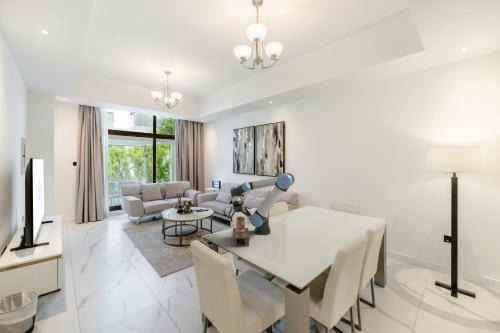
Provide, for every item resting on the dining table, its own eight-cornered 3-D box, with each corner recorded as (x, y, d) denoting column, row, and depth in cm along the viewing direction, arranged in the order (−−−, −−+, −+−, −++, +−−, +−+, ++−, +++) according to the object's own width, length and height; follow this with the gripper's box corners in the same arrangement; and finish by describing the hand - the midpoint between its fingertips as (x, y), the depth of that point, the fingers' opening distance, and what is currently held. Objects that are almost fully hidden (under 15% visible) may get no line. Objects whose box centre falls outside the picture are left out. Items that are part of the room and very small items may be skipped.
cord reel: (244, 230, 185) (244, 216, 185) (244, 233, 179) (245, 218, 178) (236, 230, 185) (236, 216, 184) (236, 233, 178) (236, 218, 177)
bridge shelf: (247, 236, 192) (247, 227, 192) (248, 246, 173) (249, 236, 172) (232, 236, 192) (233, 227, 191) (232, 246, 172) (232, 236, 171)
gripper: (249, 204, 199) (254, 225, 186) (222, 205, 192) (225, 227, 178) (251, 199, 194) (256, 220, 181) (223, 200, 186) (227, 223, 173)
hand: (241, 224), depth 179 cm, fingers open, 13 cm apart
